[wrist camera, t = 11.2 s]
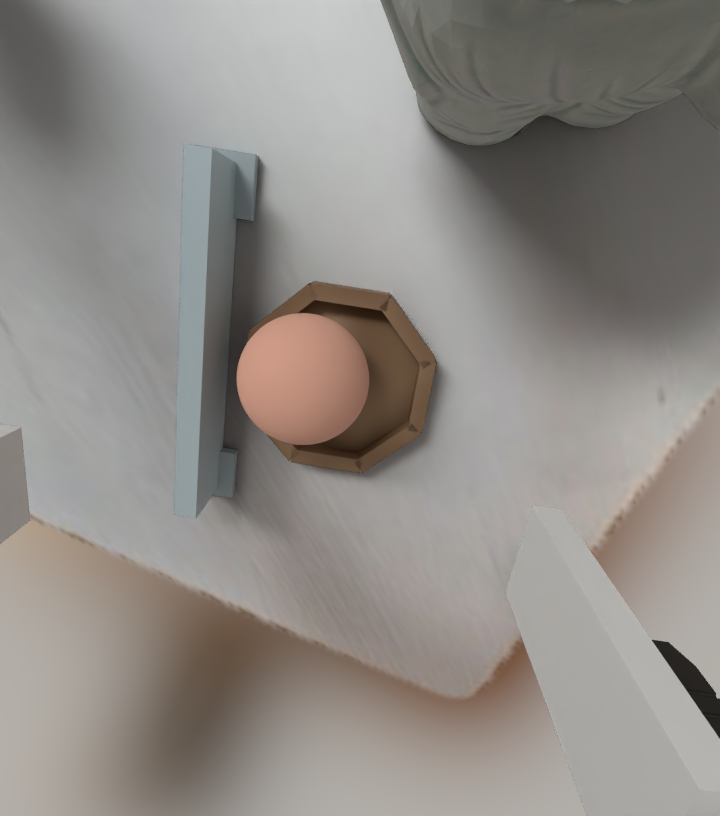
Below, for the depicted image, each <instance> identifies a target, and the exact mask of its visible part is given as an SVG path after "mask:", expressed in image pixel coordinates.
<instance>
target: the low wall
mask: <svg viewBox="0 0 720 816" xmlns="http://www.w3.org/2000/svg"><path fill="white" fill-rule="evenodd" d="M258 161H259V157H258V156H257V155H256V154H249V153H243V152H237V151H230V150H224V149H218V148H211V147H205V146H199V145H189V144H184V150H183V188H182V227H181V265H180V303H179V341H178V379H177V417H176V455H175V493H174V515H176V516H182V517H189V518H195V519H196V518H197V516H198V515H199V514H200V512H201V511H202V509H203V508H204V507H205V505H206V504H207V502H208V501H209V500H210V498H211V497H212V495H214V496H220V497H227V498H232V497H233V495H234V493H235V479H236V465H237V451H238V450H235V449H229V448H223V438H224V422H225V405H226V389H227V373H228V357H229V340H230V324H231V308H232V291H233V275H234V259H235V242H236V226H237V219H243V220H250V221H254V216H255V203H256V189H257V175H258Z"/></svg>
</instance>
